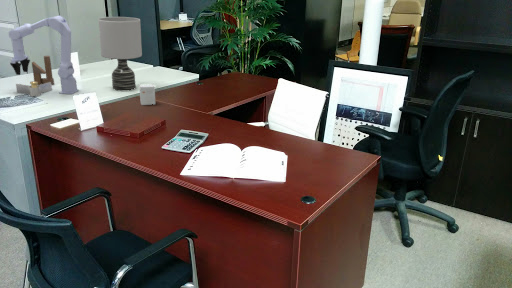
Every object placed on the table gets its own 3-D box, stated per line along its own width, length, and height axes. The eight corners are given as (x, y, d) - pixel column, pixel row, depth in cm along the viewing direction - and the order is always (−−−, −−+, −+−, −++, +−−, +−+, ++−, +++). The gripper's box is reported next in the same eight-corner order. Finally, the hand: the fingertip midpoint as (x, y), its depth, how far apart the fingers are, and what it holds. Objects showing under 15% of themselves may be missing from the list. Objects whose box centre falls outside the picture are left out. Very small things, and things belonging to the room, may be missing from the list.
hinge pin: (34, 93, 260) (32, 81, 258) (40, 94, 260) (39, 81, 257) (30, 95, 257) (28, 82, 254) (36, 96, 256) (34, 83, 254)
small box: (154, 101, 257) (153, 84, 253) (155, 104, 252) (154, 86, 248) (140, 102, 255) (139, 84, 251) (141, 105, 250) (140, 87, 246)
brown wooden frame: (36, 83, 281) (32, 55, 275) (54, 83, 283) (50, 55, 277) (34, 85, 278) (30, 56, 271) (52, 85, 280) (49, 56, 273)
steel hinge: (26, 88, 270) (24, 80, 269) (52, 89, 270) (51, 81, 268) (11, 95, 256) (9, 86, 254) (38, 96, 255) (37, 88, 253)
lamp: (105, 83, 289) (99, 16, 273) (143, 83, 295) (139, 17, 279) (102, 93, 268) (96, 21, 252) (143, 92, 274) (140, 22, 258)
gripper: (18, 47, 264) (22, 70, 269) (4, 51, 251) (8, 75, 256) (30, 48, 264) (33, 70, 269) (16, 52, 250) (20, 76, 255)
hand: (21, 73), depth 262 cm, fingers open, 7 cm apart
